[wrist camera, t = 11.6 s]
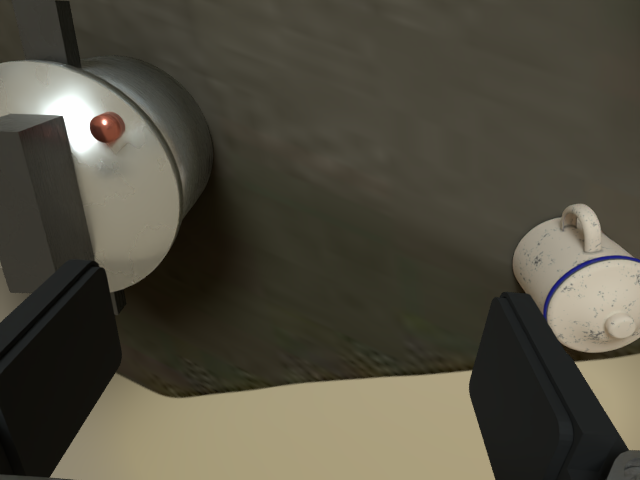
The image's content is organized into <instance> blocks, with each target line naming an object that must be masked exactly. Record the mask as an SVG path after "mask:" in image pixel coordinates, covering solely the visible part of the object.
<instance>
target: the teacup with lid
mask: <svg viewBox="0 0 640 480" xmlns="http://www.w3.org/2000/svg"><path fill="white" fill-rule="evenodd" d="M513 271H514V275H515V277H516V279H517V281H518V282H519V284H520V285H521V287H522V288H523V290H524V291H525V293H526V294H530V295H531V297H532V298H533V300H534V301H535V303H536V305H537V306H538V308H539V310H540V311H541V313H542V314H543V316H544V318H545V319H546V321H547V323H548V324H549V326H550V327H551V329H552V331H553V332H554V334H555V336H556V337H557V339H558V340H559V342H560V343H561V344H563V345H565V346H567V347H569V348H571V349H574V350H578V351H582V352H592V353H595V352H606V351H611V350H614V349H618V348H621V347H623V346H625V345H628V344H630V343H631V342H633V341H635V340H636V339H638V338H639V337H640V260H639V259H636V258H634V257H633V256H631V255H630V254H629V253H628V252H626V251H625V250H624V249H623V248H622V247H620V246H619V245H618V244H617V243H615V242H614V241H613V240H612V239H611V238H609V237H608V236H607V235H606V234H604V233H603V232H602V231H601V227H600V224H599V221H598V218H597V216H596V214H595V213H594V211H593V210H592V209H591V208H589V207H588V206H586V205H584V204H575V205H570V206H568V207H567V208H566V209H565V210H564V212H563V214H562V217H561V218H555V219H551V220H548V221H546V222H543V223H541V224H539V225H538V226H536V227H534V228H533V229H532V230H530V231H529V232H528V233H527V234H526V235H525V236H524V237H523V238H522V240H521V241H520V243H519V244H518V246H517V248H516V250H515V253H514V256H513Z"/></svg>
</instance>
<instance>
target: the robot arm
mask: <svg viewBox="0 0 640 480" xmlns="http://www.w3.org/2000/svg"><path fill="white" fill-rule="evenodd" d="M121 358H122V351H121V346H120V341H119V336H118V331H117V325H116V320H115V315H114V310H113V305H112V300H111V295H110V289H109V284H108V279H107V274H106V271H105V269H104V268H103V267H100V266H99V264H98V263H97V262H96V261H91V260H78V259H70V260H68V261H67V262H65V263H64V264H63V265H62V266H61V267H60V268H59V269H58V270H57V271H56V272H55V273H54V274H52V275H51V276H50V277H49V278H48V279H47V280H46V281H45V282H44V283H43V284H42V285H41V286H39V287H38V288H37V289H36V290H35V291H34V292H33V293H32V294H31V295H30V296H29V297H28V298H27V299H25V300H24V301H23V302H22V303H21V304H20V305H19V306H18V307H17V308H16V309H15V310H14V311H13V312H11V314H9V315H8V316H7V317H6V318H5V319H4V320H3V321H2V322H1V323H0V480H71V479H59V478H49V477H50V476H51V474H52V473H53V471H54V470H55V468H56V466H57V465H58V463H59V462H60V460H61V458H62V457H63V455H64V454H65V452H66V450H67V449H68V447H69V446H70V444H71V442H72V441H73V439H74V438H75V436H76V434H77V433H78V431H79V430H80V428H81V426H82V425H83V423H84V422H85V420H86V419H87V417H88V415H89V414H90V412H91V410H92V409H93V407H94V406H95V404H96V403H97V401H98V399H99V398H100V396H101V395H102V393H103V392H104V390H105V388H106V386H107V385H108V384H109V382H110V380H111V379H112V377H113V376H114V374H115V372H116V371H117V369H118V367H119V366H120V363H121ZM469 392H470V398H471V401H472V404H473V407H474V410H475V414H476V417H477V421H478V424H479V427H480V430H481V434H482V437H483V439H484V444H485V447H486V450H487V453H488V456H489V460H490V463H491V467H492V470H493V473H494V476H495V480H640V451H639V450H638V451H637V450H629V449H628V448H627V446H626V445H625V443H624V441H623V440H622V438H621V436H620V435H619V433H618V432H617V430H616V428H615V427H614V425H613V424H612V422H611V420H610V419H609V417H608V415H607V414H606V412H605V411H604V409H603V407H602V406H601V404H600V403H599V401H598V399H597V398H596V396H595V395H594V393H593V391H592V390H591V388H590V387H589V385H588V383H587V382H586V380H585V378H584V377H583V375H582V374H581V372H580V370H579V369H578V368H577V366H576V364H575V362H574V361H573V359H572V358H571V357H570V356H569V354H567V353H566V352H565V350H564V349H563V347H562V345H561V344H560V342H559V340H558V339H557V337H556V336H555V334H554V332H553V331H552V329H551V327H550V326H549V324H548V323H547V321H546V319H545V318H544V316H543V314H542V313H541V311H540V310H539V308H538V306H537V305H536V303H535V301H534V300H533V298H532V297H531V295H530V294H525V293H512V292H503V293H502V294H501V296H500V298H498V297H495V298H494V299H493V300H492V303H491V306H490V310H489V313H488V317H487V321H486V324H485V328H484V331H483V335H482V339H481V342H480V346H479V349H478V353H477V357H476V360H475V364H474V367H473V371H472V375H471V378H470V383H469Z"/></svg>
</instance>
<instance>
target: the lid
mask: <svg viewBox="0 0 640 480" xmlns="http://www.w3.org/2000/svg"><path fill="white" fill-rule="evenodd" d="M183 206H184V201H183V187H182V182H181V176H180V173H179V169H178V166H177V163H176V160H175V158H174V156H173V153H172V151H171V149H170V147H169V145H168V143H167V142H166V140H165V138H164V137H163V135H162V133H161V132H160V130H159V129H158V127H157V126H156V125H155V124H154V122H153V121H152V120H151V118H150V117H149V116H148V115H147V114H146V113H145V112H144V111H143V110H142V109H141V108H140V107H139V106H138V105H137V104H136V103H135V102H134V101H133V100H132V99H131V98H129V97H128V96H127V95H126V94H125V93H123V92H122V91H121V90H119V89H118V88H116V87H115V86H113V85H112V84H110V83H109V82H107V81H106V80H104V79H102V78H100V77H98V76H96V75H94V74H92V73H90V72H88V71H85V70H82V69H79V68H77V67H74V66H71V65H67V64H63V63H58V62H54V61H44V60H19V61H12V62H5V63H0V268H2V269H3V272H4V275H5V278H6V282H7V285H8V287H9V291H10V292H12V293H33V292H34V291H35V290H36V289H37V288H38V287H39V286H41V285H42V284H43V283H44V282H45V281H46V280H47V279H48V278H49V277H50V276H51V275H52V274H54V273H55V272H56V271H57V270H58V269H59V268H60V267H61V266H62V265H63V264H64V263H65V262H67V261H68V260H70V259H78V260H91V261H96V262H97V263H98V264H99V266H100V267H103V268H104V269H105V271H106V274H107V279H108V284H109V289H110V293H111V292H115V291H118V290H122V289H124V288H127V287H129V286H131V285H134V284H135V283H137V282H139V281H140V280H142V279H144V278H145V277H146V276H147V275H148V274H150V273H151V272H152V271H153V270H154V269H155V268H156V267H157V266H158V265H159V264H160V262H161V261H162V260H163V259H164V257H165V256H166V254H167V253H168V251H169V250H170V248H171V247H172V245H173V243H174V241H175V239H176V237H177V234H178V232H179V229H180V225H181V221H182V216H183Z"/></svg>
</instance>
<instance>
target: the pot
mask: <svg viewBox="0 0 640 480" xmlns="http://www.w3.org/2000/svg"><path fill="white" fill-rule="evenodd" d="M12 3H13V7H14V11H15V16H16V20H17V24H18V28H19V32H20V37H21V41H22V45H23V49H24V53H25V58H26V60H44V61H54V62H58V63H63V64H67V65H71V66H74V67H77V68H79V69H82V70H85V71H88V72H90V73H92V74H94V75H96V76H98V77H100V78H102V79H104V80H106V81H107V82H109V83H110V84H112V85H113V86H115V87H116V88H118V89H119V90H121V91H122V92H123V93H125V94H126V95H127V96H128V97H129V98H131V99H132V100H133V101H134V102H135V103H136V104H137V105H138V106H139V107H140V108H141V109H142V110H143V111H144V112H145V113H146V114H147V115H148V116H149V117H150V118H151V120H152V121H153V122H154V124H155V125H156V126H157V127H158V129H159V130H160V132H161V133H162V135H163V137H164V138H165V140H166V142H167V143H168V145H169V147H170V149H171V151H172V153H173V156H174V158H175V160H176V163H177V166H178V169H179V173H180V176H181V182H182V187H183V201H184V206H183V216H182V220H183V218H184V217H185V216H186V214H187V213H188V212H189V210H190V209H191V208H192V206H193V205H194V204H195V202H196V201H197V200H198V198H199V197H200V195H201V194H202V192H203V191H204V189H205V187H206V185H207V183H208V180H209V178H210V174H211V170H212V164H213V146H212V138H211V134H210V131H209V127H208V125H207V122H206V120H205V117H204V115H203V113H202V111H201V110H200V108H199V106H198V104H197V103H196V102H195V100H194V99H193V97H192V96H191V95H190V94H189V93H188V91H187V90H186V89H185V88H184V87H183V86H182V85H181V84H180V83H179V82H178V81H176V80H175V79H174V78H173V77H172V76H170V75H169V74H167V73H166V72H164V71H163V70H161V69H159V68H157V67H156V66H154V65H152V64H149V63H147V62H144V61H142V60H139V59H135V58H131V57H125V56H116V55H114V56H100V57H95V58H89V59H83V60H80V56H79V51H78V46H77V40H76V35H75V30H74V25H73V19H72V14H71V9H70V3H69V1H54V0H12ZM110 295H111V300H112V305H113V310H114V315H118V314H119V313H120V312H121V310H122V309H123V308H124V306H125V305H126V299H125V294H124V289H122V290H118V291H115V292H111V293H110Z"/></svg>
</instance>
